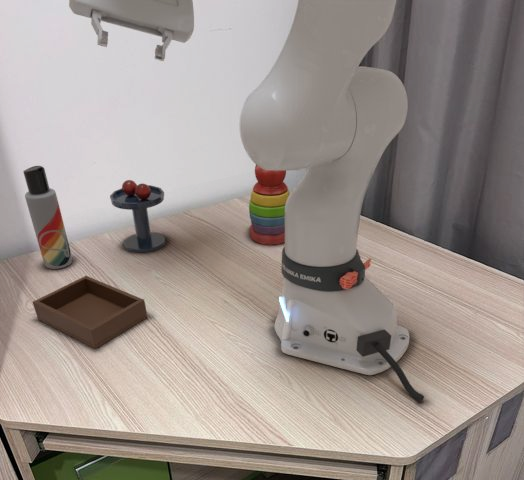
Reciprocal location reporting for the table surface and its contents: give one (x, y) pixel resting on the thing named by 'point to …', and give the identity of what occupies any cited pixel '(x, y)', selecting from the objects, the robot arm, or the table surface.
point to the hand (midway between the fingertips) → (131, 51)
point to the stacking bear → (268, 207)
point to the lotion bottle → (47, 219)
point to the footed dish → (140, 219)
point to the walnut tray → (90, 311)
